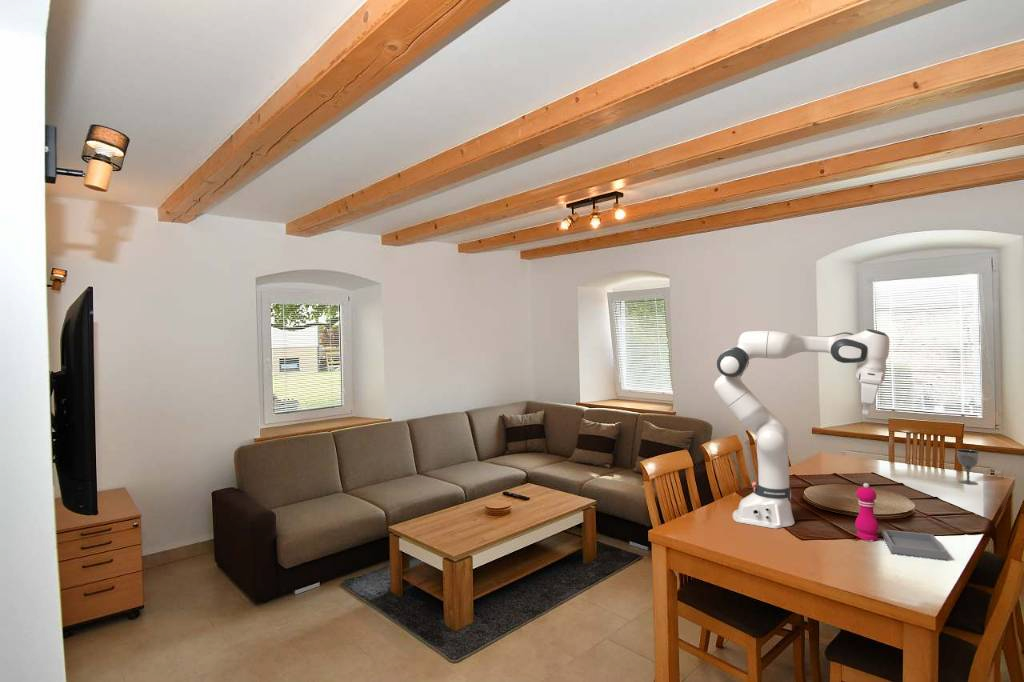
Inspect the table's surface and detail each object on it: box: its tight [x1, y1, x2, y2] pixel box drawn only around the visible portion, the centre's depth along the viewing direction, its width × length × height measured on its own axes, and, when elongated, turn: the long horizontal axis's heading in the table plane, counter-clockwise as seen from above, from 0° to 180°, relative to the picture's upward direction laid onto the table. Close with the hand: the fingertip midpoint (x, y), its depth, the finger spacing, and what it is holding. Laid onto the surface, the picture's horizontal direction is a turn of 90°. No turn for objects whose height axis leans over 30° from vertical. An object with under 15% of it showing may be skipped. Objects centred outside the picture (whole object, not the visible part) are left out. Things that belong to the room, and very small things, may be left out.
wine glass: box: [956, 448, 980, 486], centre depth 256 cm, size 8×8×15 cm
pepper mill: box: [854, 482, 880, 541], centre depth 196 cm, size 7×7×20 cm
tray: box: [881, 528, 948, 562], centre depth 187 cm, size 15×16×3 cm
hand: (864, 410), depth 201 cm, fingers open, 8 cm apart
